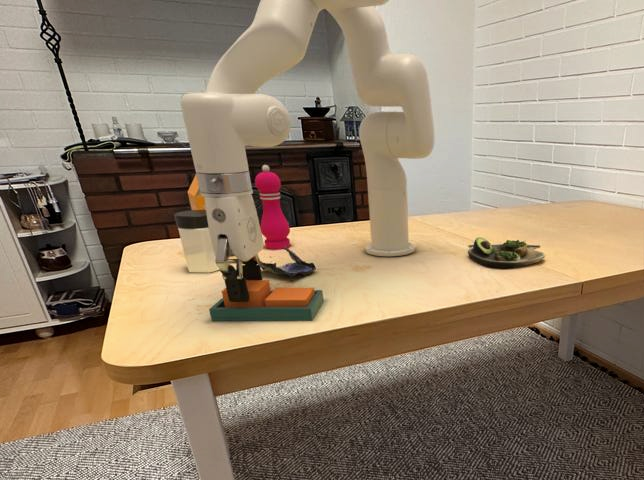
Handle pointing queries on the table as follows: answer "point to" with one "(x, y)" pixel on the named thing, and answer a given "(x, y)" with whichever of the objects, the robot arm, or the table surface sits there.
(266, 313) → the tray
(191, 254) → the jar
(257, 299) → the orange block
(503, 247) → the salad plate
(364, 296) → the table surface
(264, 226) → the pepper mill
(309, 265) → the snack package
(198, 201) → the orange juice
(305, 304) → the fitted pad
